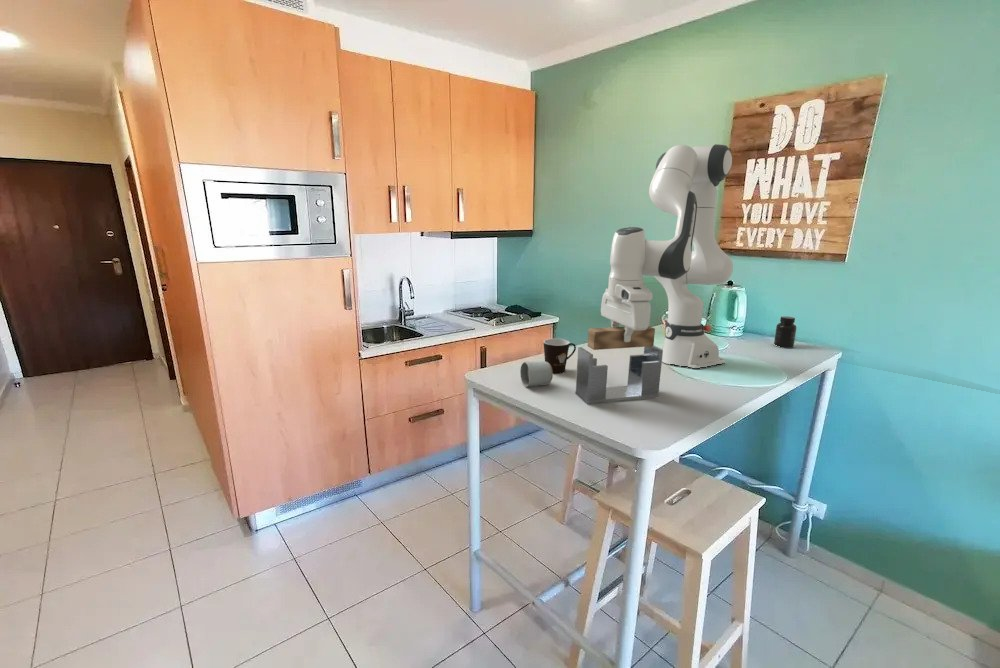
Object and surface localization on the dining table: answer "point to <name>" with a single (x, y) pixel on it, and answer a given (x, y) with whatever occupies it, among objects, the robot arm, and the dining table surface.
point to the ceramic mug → (536, 373)
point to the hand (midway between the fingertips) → (621, 338)
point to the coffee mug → (557, 354)
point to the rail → (619, 338)
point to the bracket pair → (639, 386)
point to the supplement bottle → (785, 332)
